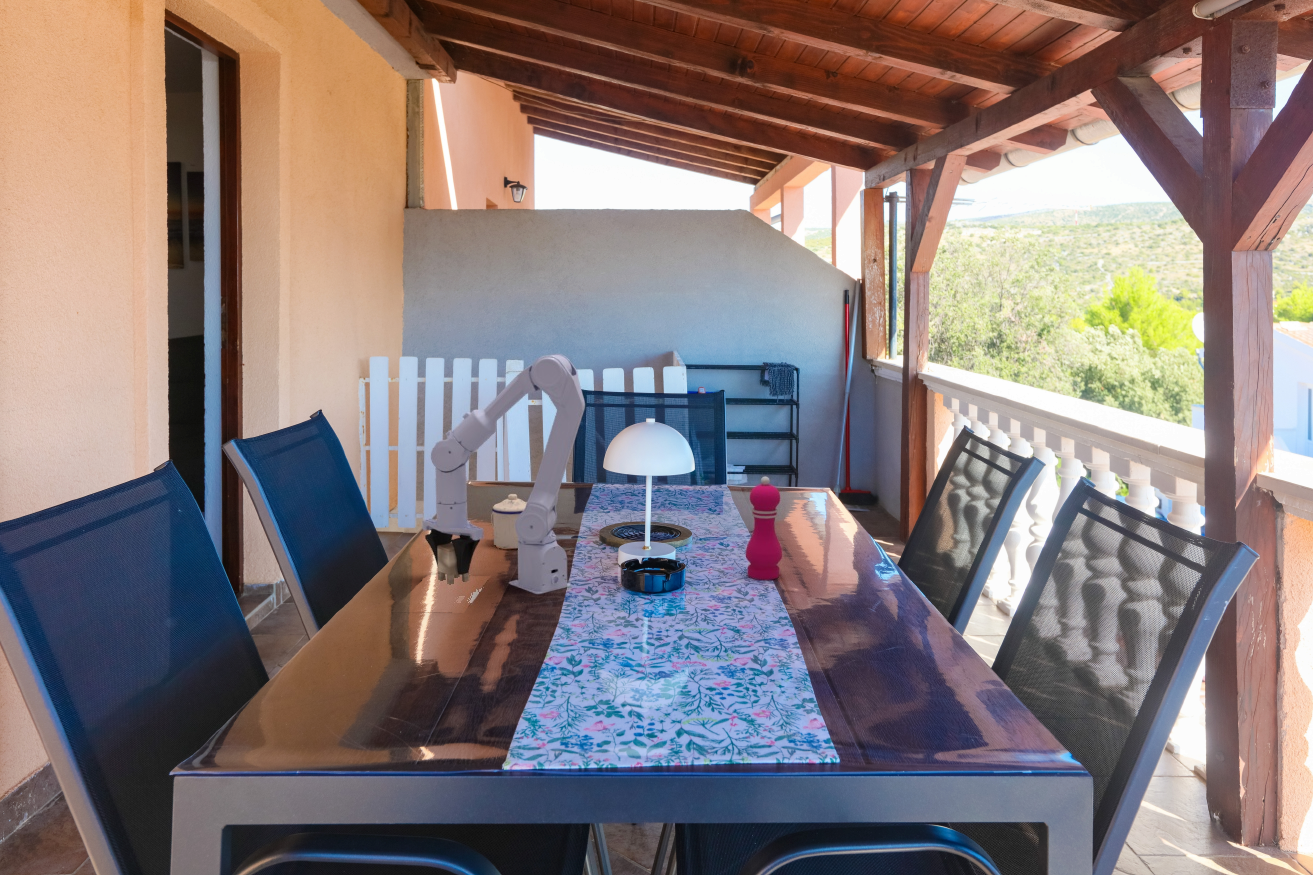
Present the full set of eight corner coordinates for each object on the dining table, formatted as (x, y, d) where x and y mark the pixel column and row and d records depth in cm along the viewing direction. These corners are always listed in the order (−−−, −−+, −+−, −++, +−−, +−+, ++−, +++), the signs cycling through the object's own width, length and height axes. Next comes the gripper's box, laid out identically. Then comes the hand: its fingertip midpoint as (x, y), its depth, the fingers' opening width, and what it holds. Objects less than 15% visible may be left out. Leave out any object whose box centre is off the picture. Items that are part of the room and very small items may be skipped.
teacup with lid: (542, 545, 200) (541, 494, 198) (510, 552, 193) (509, 500, 191) (508, 536, 208) (507, 487, 206) (476, 543, 201) (475, 493, 199)
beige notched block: (469, 581, 170) (468, 545, 169) (449, 585, 167) (448, 549, 166) (457, 576, 173) (456, 541, 172) (438, 581, 170) (437, 545, 169)
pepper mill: (780, 581, 172) (782, 480, 170) (743, 579, 174) (745, 479, 171) (782, 571, 179) (785, 474, 177) (747, 569, 181) (748, 472, 178)
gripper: (494, 502, 167) (495, 572, 169) (441, 494, 175) (442, 560, 177) (467, 508, 162) (468, 581, 163) (413, 499, 170) (415, 568, 171)
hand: (453, 571), depth 170 cm, fingers closed on beige notched block, 5 cm apart
